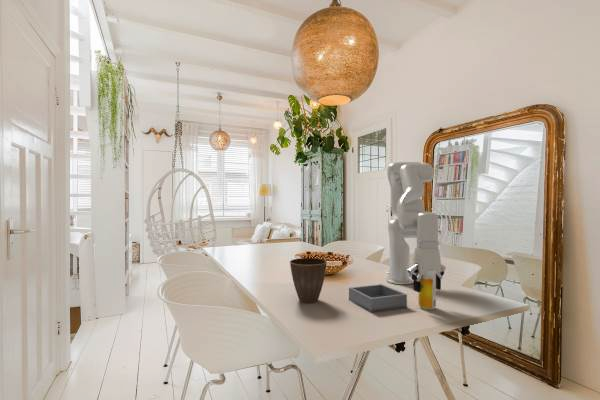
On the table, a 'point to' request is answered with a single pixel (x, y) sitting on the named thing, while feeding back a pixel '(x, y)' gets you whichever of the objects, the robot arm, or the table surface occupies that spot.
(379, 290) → the box
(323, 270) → the plant pot
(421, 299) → the beer can
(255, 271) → the table surface
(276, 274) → the table surface
